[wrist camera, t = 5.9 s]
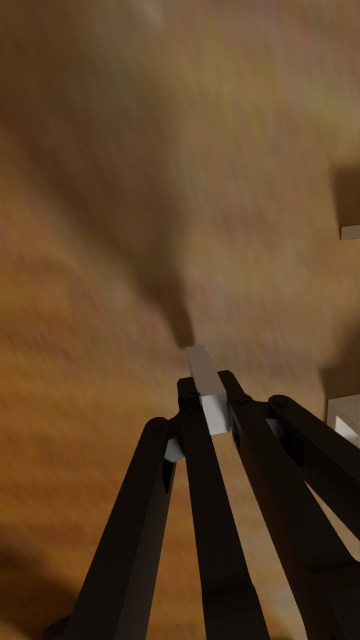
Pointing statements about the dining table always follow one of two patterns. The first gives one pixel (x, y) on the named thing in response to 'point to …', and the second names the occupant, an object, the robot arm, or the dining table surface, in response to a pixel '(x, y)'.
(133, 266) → the dining table surface
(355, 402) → the dish rack
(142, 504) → the robot arm
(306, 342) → the dining table surface
